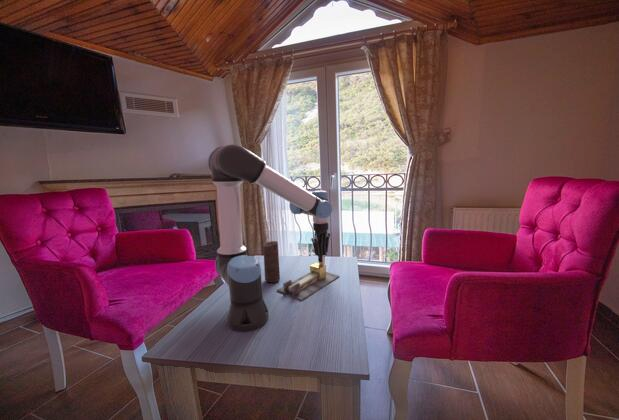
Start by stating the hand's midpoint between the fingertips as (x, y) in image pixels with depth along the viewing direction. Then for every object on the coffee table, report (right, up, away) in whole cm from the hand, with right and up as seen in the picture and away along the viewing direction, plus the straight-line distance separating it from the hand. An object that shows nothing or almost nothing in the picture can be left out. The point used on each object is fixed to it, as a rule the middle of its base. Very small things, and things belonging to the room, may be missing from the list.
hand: (321, 267), depth 134 cm
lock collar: (-2, -5, -2) cm, 6 cm away
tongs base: (-6, -6, -7) cm, 11 cm away
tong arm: (-8, -5, -9) cm, 13 cm away
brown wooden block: (-25, -6, -2) cm, 26 cm away
